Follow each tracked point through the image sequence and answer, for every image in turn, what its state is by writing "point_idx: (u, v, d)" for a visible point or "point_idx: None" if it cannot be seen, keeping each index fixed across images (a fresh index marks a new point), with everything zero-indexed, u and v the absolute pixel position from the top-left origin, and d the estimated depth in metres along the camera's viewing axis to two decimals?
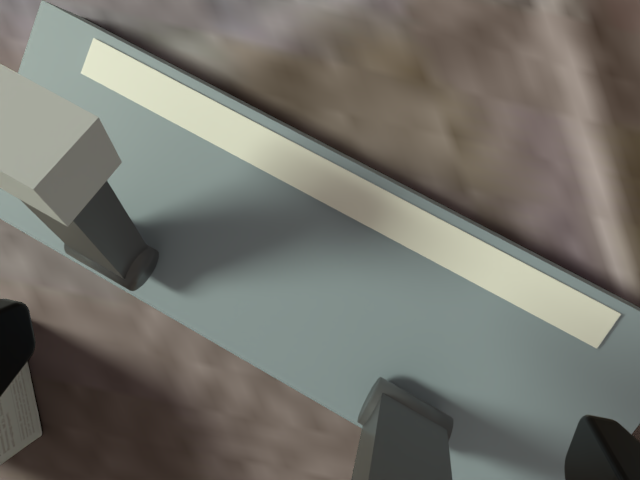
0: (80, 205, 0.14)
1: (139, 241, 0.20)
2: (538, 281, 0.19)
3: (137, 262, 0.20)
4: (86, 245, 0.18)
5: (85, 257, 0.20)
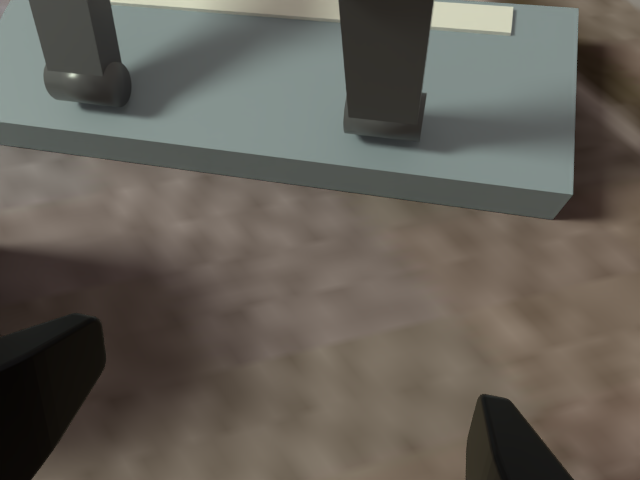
0: None
1: (116, 43, 0.23)
2: (445, 7, 0.24)
3: (114, 64, 0.23)
4: (72, 5, 0.21)
5: (64, 72, 0.22)
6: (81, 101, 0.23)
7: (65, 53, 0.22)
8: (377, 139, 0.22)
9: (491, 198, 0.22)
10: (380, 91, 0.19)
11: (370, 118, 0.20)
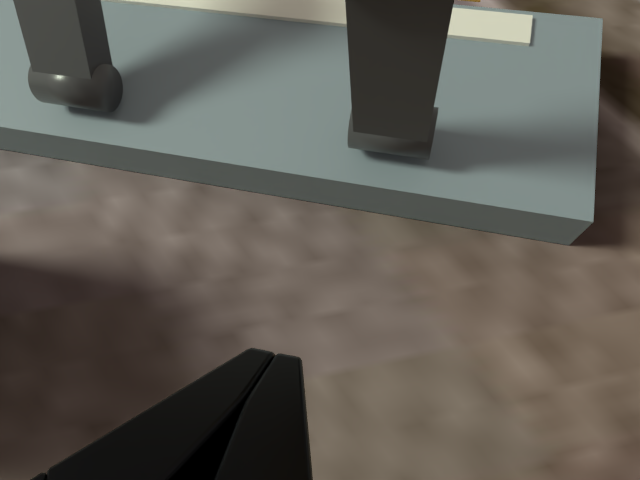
0: None
1: (106, 43, 0.21)
2: (459, 14, 0.23)
3: (103, 67, 0.21)
4: (58, 3, 0.19)
5: (50, 74, 0.21)
6: (68, 105, 0.22)
7: (51, 53, 0.20)
8: (383, 154, 0.21)
9: (504, 221, 0.20)
10: (388, 106, 0.17)
11: (377, 133, 0.19)
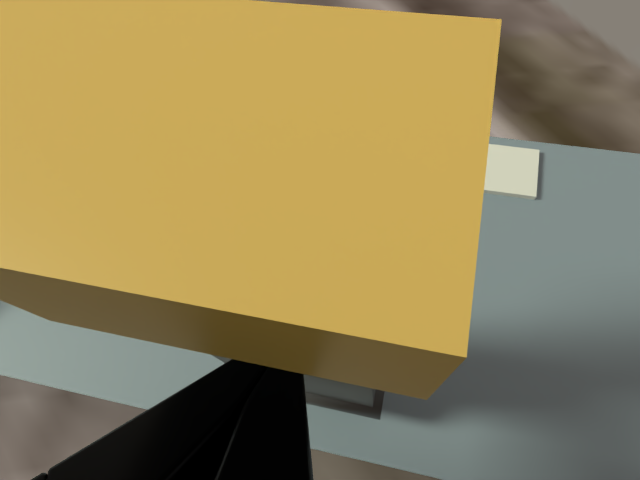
0: None
1: None
2: None
3: None
4: None
5: None
6: None
7: None
8: None
9: None
10: None
11: None
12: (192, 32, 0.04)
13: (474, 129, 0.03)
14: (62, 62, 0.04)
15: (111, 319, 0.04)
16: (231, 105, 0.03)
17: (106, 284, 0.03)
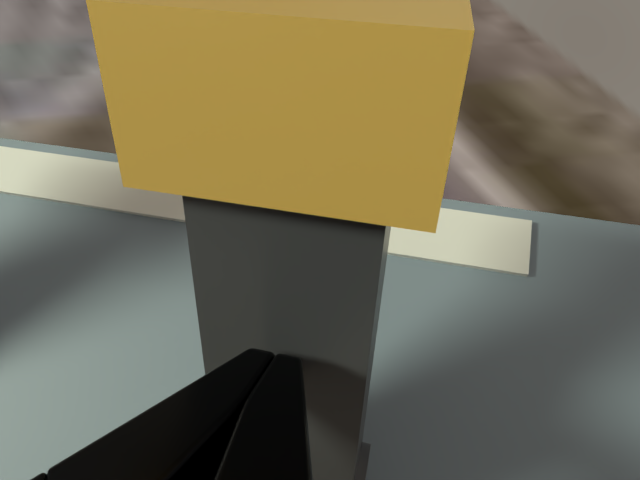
0: None
1: None
2: None
3: None
4: None
5: None
6: None
7: None
8: None
9: None
10: None
11: None
12: None
13: (462, 8, 0.06)
14: None
15: (208, 124, 0.06)
16: None
17: (253, 17, 0.05)
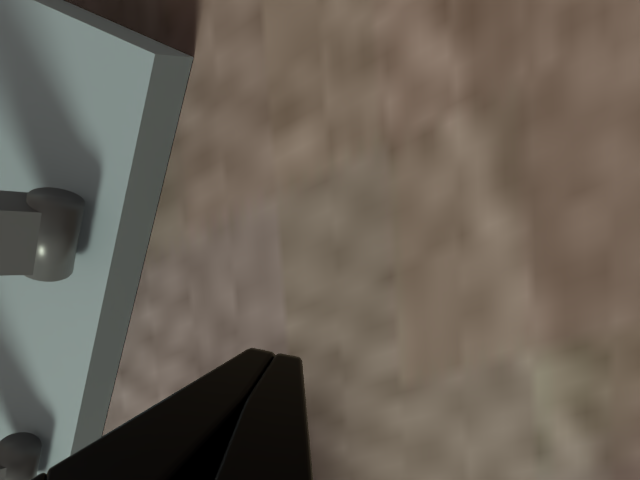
0: None
1: None
2: None
3: None
4: None
5: None
6: None
7: None
8: (83, 235, 0.21)
9: (158, 129, 0.20)
10: None
11: (31, 255, 0.19)
12: None
13: None
14: None
15: None
16: None
17: None
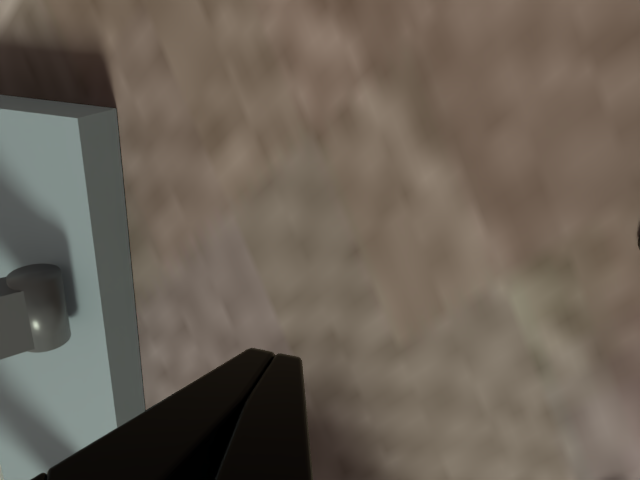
0: None
1: None
2: None
3: None
4: None
5: None
6: None
7: None
8: (70, 299, 0.22)
9: (105, 183, 0.21)
10: None
11: (27, 332, 0.20)
12: None
13: None
14: None
15: None
16: None
17: None
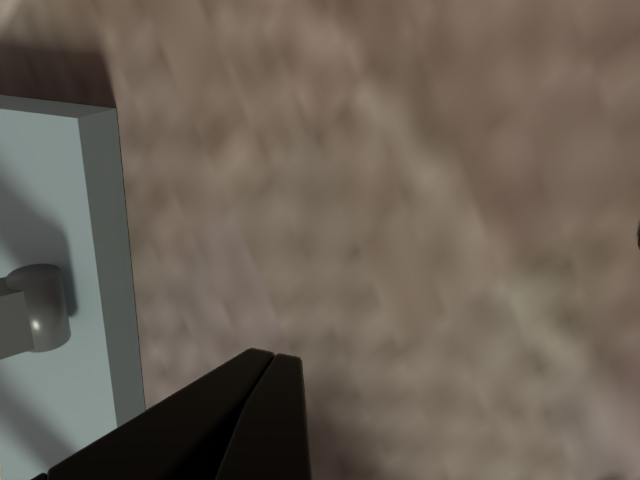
0: None
1: None
2: None
3: None
4: None
5: None
6: None
7: None
8: (70, 299, 0.22)
9: (105, 183, 0.21)
10: None
11: (27, 332, 0.20)
12: None
13: None
14: None
15: None
16: None
17: None
